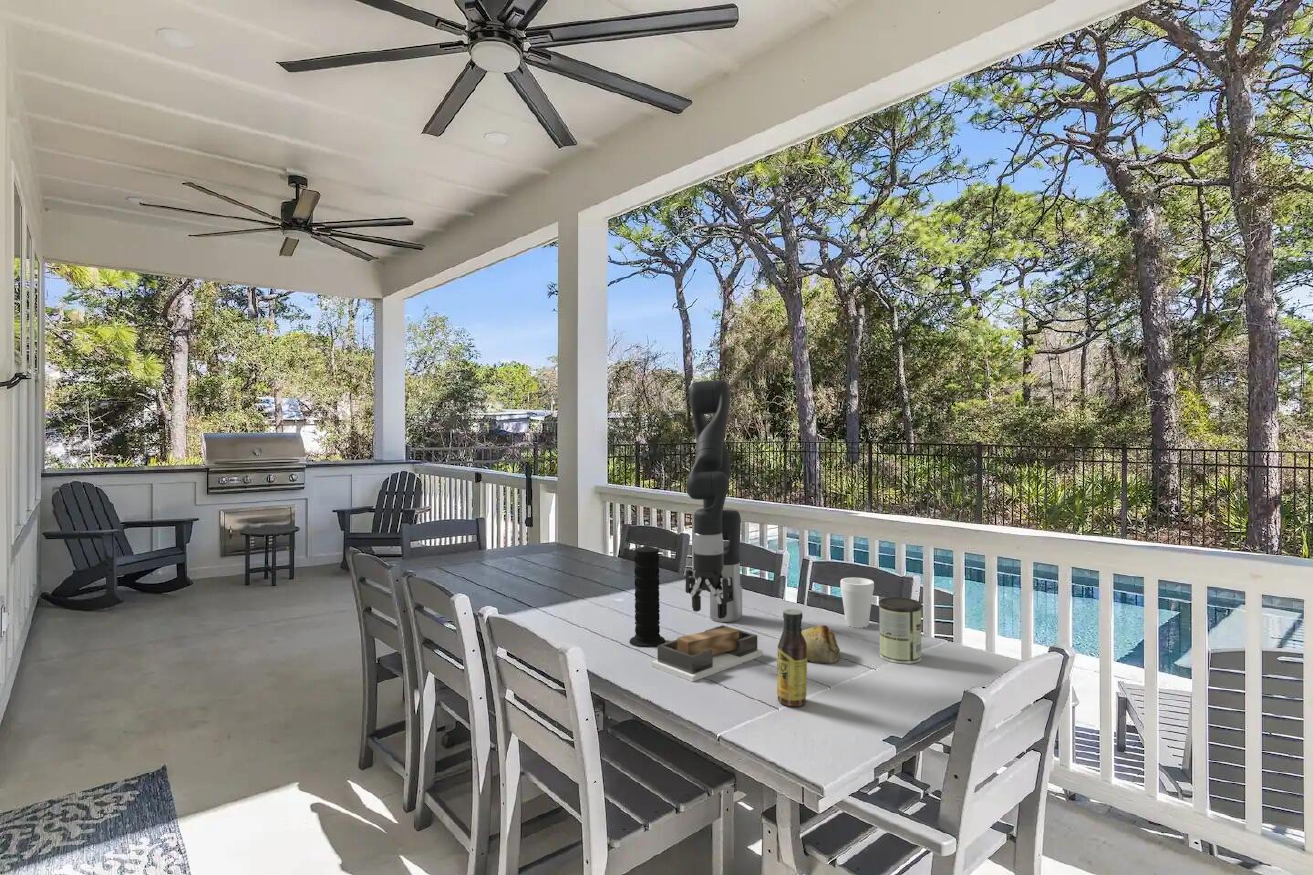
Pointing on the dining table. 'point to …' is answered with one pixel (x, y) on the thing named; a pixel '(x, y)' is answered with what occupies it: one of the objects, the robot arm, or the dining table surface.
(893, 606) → the coffee can
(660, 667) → the mounting board
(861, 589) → the foam cup
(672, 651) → the brackets
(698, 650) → the oak rail
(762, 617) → the dining table surface
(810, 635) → the pastry
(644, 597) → the handle grip
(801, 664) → the sauce bottle
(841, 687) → the dining table surface
